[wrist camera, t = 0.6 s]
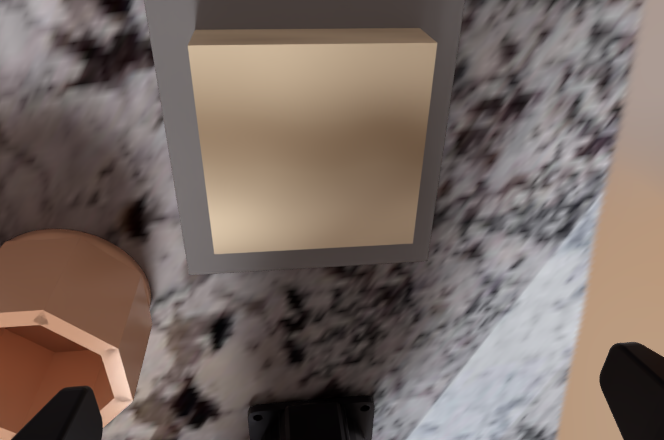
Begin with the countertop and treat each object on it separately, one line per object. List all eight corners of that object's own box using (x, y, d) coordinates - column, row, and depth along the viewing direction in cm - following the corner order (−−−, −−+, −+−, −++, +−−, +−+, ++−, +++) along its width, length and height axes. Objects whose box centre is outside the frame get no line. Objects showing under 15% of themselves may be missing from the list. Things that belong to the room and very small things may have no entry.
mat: (424, 254, 23) (427, 261, 22) (190, 267, 22) (189, 274, 21) (467, -56, 16) (473, -55, 16) (137, -60, 15) (134, -58, 15)
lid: (400, 215, 21) (413, 243, 19) (218, 223, 20) (214, 254, 18) (419, 27, 17) (437, 42, 15) (195, 29, 16) (187, 45, 14)
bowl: (162, 341, 24) (142, 433, 20) (14, 352, 23) (-39, 450, 19) (136, 223, 20) (106, 305, 16) (-39, 232, 20) (-116, 319, 16)
